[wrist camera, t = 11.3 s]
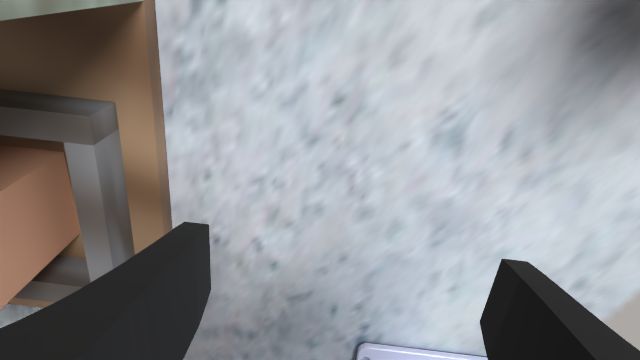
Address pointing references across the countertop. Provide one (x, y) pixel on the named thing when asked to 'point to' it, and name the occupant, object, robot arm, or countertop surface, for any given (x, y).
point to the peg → (32, 214)
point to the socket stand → (89, 126)
